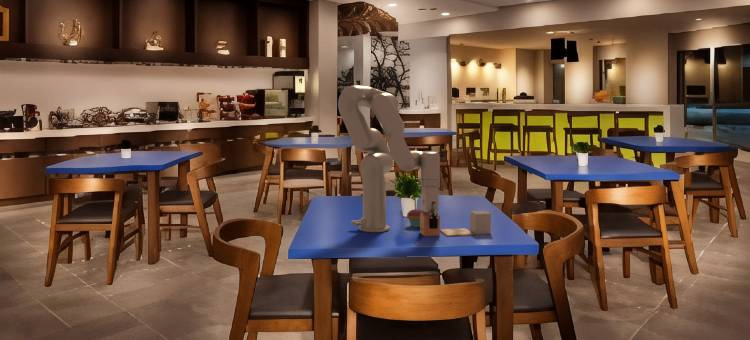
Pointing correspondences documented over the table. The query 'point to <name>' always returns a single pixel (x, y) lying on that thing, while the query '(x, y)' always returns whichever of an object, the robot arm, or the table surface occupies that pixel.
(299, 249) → the table surface
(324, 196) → the table surface
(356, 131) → the robot arm
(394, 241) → the table surface
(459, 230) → the birch board
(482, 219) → the beige block
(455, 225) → the table surface
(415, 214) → the cupcake
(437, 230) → the peach colored cube
